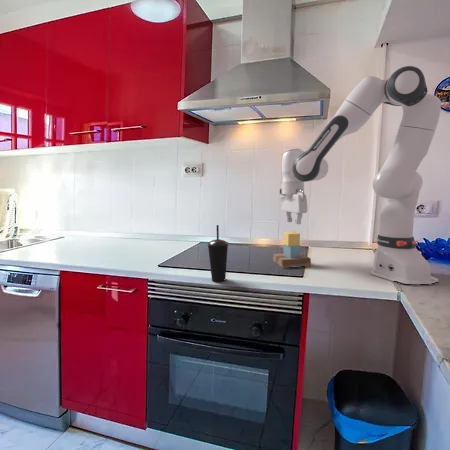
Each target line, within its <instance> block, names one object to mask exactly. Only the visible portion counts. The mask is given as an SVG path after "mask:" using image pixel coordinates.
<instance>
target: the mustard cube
mask: <svg viewBox="0 0 450 450" xmlns="http://www.w3.org/2000/svg"><path fill="white" fill-rule="evenodd" d="M300 242H301V233H299V232H298V231H297V232H296V231H284V232H283V245H284V244H285V245H287V246H300V245H301V243H300Z"/></svg>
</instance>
